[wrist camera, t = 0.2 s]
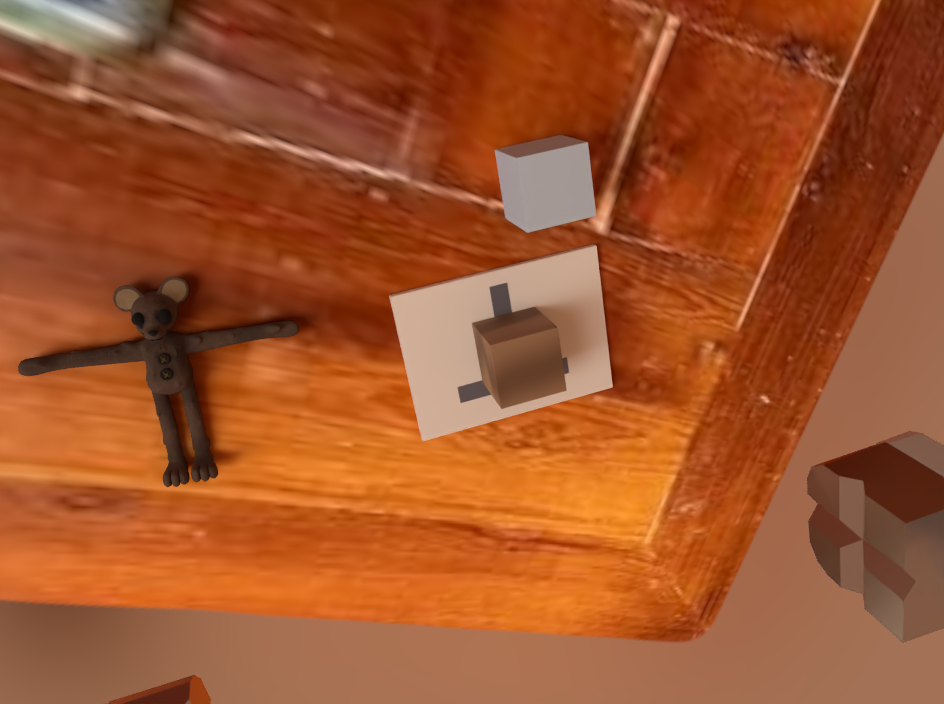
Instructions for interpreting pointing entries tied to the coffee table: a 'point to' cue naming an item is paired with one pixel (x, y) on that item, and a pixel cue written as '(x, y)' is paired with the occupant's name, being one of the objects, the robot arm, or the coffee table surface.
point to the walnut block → (519, 356)
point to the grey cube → (546, 182)
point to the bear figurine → (164, 366)
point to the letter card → (490, 295)
